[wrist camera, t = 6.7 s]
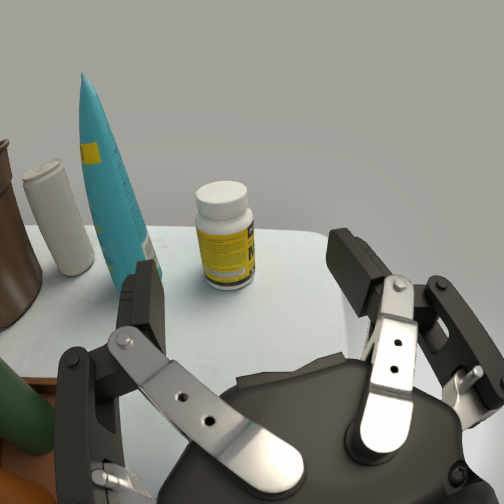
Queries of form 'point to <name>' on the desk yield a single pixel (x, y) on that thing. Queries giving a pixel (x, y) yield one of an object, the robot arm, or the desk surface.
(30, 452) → the green bottle
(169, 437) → the desk surface
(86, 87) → the tube
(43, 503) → the amber bottle
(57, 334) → the desk surface
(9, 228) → the plant pot
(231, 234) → the supplement bottle
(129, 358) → the robot arm
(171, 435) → the desk surface
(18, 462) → the serving tray
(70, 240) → the beverage can
